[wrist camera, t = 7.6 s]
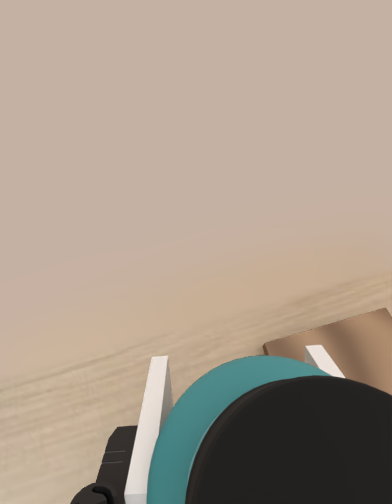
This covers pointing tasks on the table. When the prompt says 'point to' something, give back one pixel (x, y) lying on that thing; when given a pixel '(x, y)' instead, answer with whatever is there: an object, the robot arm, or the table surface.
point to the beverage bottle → (274, 438)
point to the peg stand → (348, 347)
